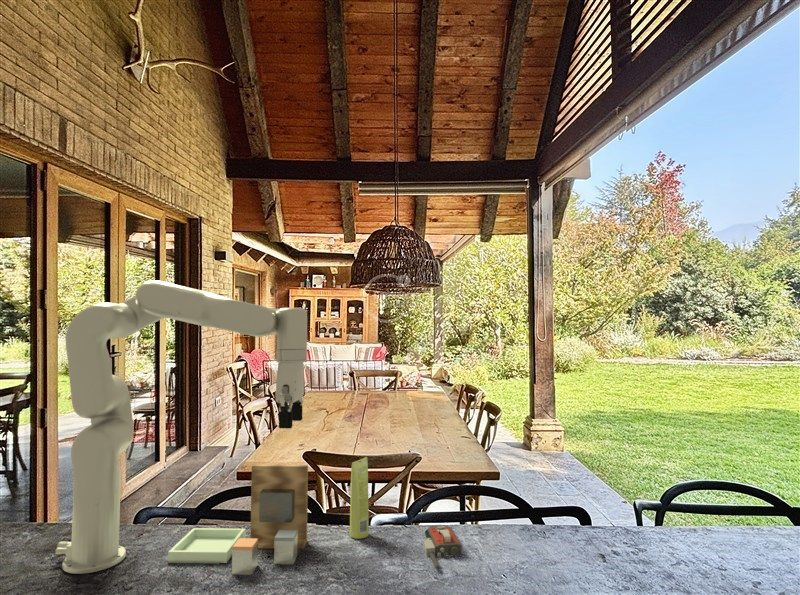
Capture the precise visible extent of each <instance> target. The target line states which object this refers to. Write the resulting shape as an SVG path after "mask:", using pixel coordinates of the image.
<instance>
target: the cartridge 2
mask: <svg viewBox="0 0 800 595" xmlns="http://www.w3.org/2000/svg"><path fill="white" fill-rule="evenodd" d="M297 542H298V530H279V531H278V533H277V534H276V536H275V537H274V548H273V549H274V551H273V564H274V565H294V563H295V561H296V560H297V557H298V549H297Z"/></svg>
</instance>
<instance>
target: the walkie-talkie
mask: <svg viewBox="0 0 800 595" xmlns="http://www.w3.org/2000/svg"><path fill="white" fill-rule="evenodd" d="M424 535H425V537H426V539H425V540H424V541H423V551H424V552H425V556H426V557H430V559H431V562H432V564H433V566H434V569H436V570H440V568H441V567H440V564H439V562H438V559H437V558H436V556H438V558H441V557H447V556H446V555H452V556H453V557H457V556H461V555H462V551H463V550H462V549H463V547H462V544H461V541H460V540H459V538H458V537H457V535H456V534H455V532H454V530H453V529H452V527H451V526H448V525H446V524H445V525H431V526H429V527H427V528H426V530H425V531H424ZM452 556H451V557H452Z"/></svg>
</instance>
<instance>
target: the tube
mask: <svg viewBox="0 0 800 595" xmlns="http://www.w3.org/2000/svg"><path fill="white" fill-rule="evenodd" d="M368 461H369V460H368V456H365V457H363V458H361V459H359V460H356V461H353V462H352V463H351V468H350V470H351V473H350V474H351V475H350V504H349V505H350V506H349V508H350V509H349V536H350V537H351V538H352V539H356V540H358V539H359V540H360V539H365V538H367V537H368V536H369V534H370V532H369V531H370V528H369V527H370V526H369V525H370V522H369V521H370V520H369V519H370V518H369V511H370V510H369V471H368V470H369V468H368V467H369V465H368V464H369V462H368Z"/></svg>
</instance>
